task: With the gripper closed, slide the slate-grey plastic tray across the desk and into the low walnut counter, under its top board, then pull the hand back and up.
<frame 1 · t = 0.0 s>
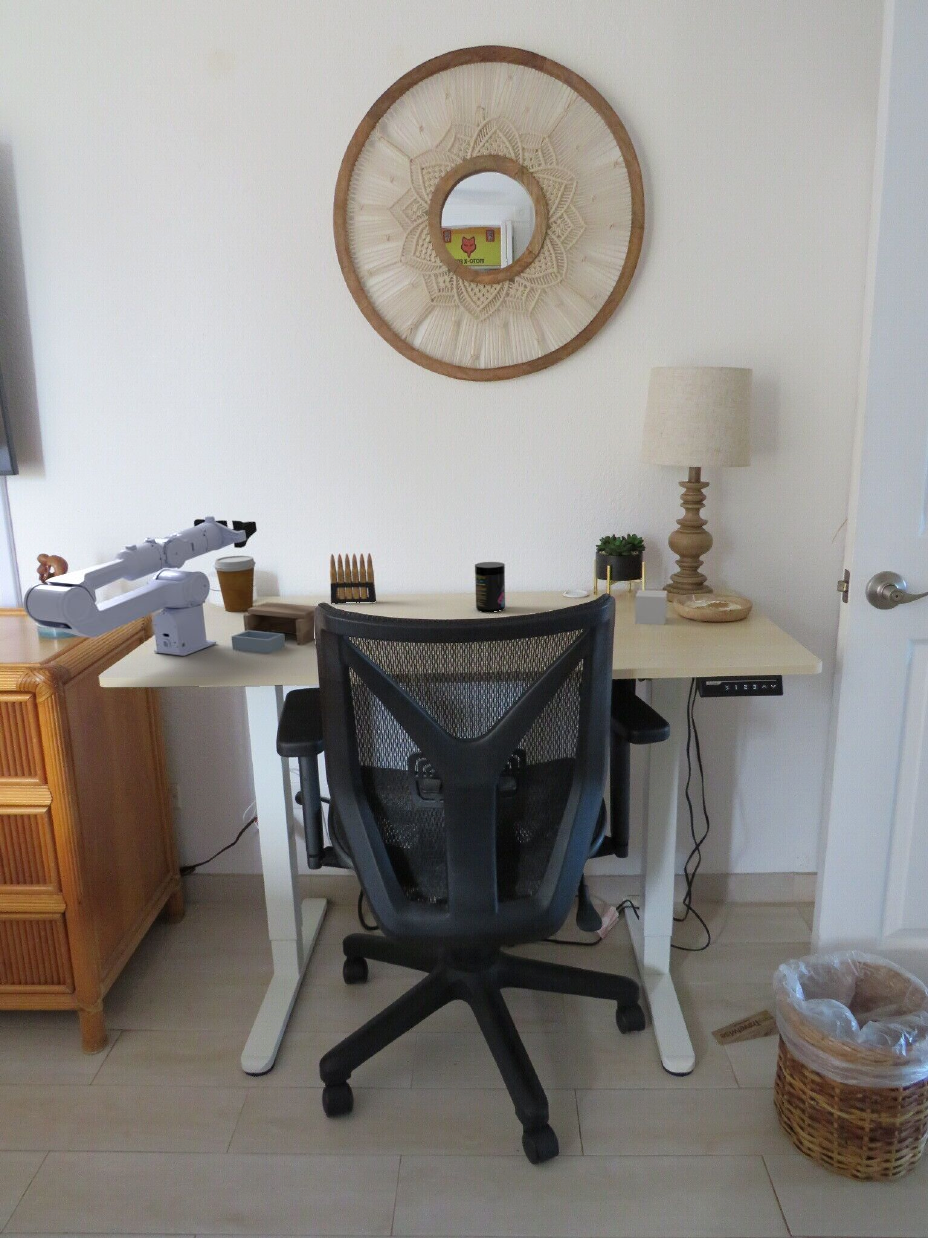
hand: (240, 525, 183), 22 cm above the table, tool horizontal, fingers open, 7 cm apart
disposable coffee cup: (239, 609, 203), on the table
ammunition clip: (353, 603, 206), on the table
supplement container: (490, 610, 195), on the table
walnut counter: (285, 637, 177), on the table
grey cube: (650, 621, 182), on the table
grey tray: (259, 649, 170), on the table
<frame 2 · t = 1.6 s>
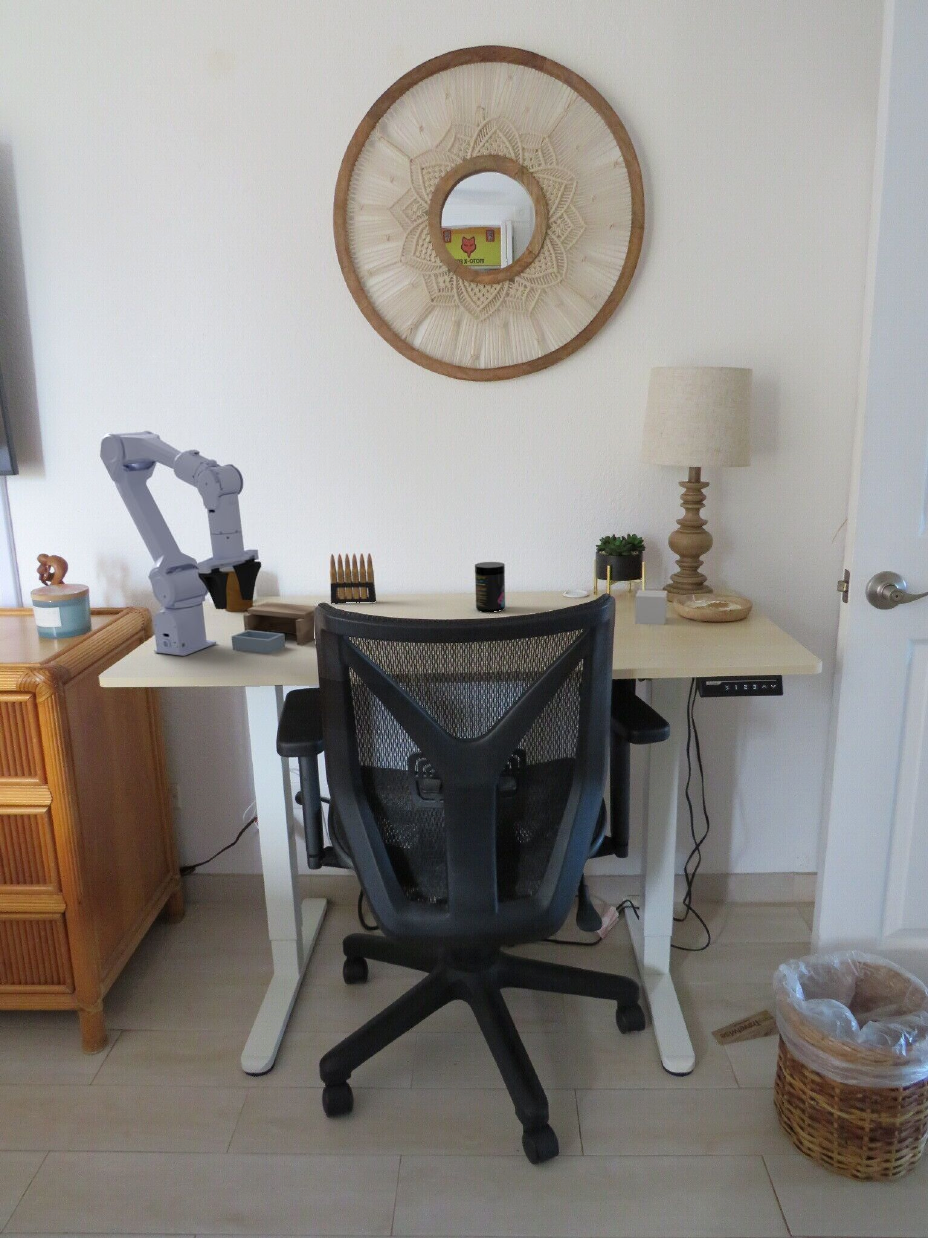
hand: (234, 604, 161), 10 cm above the table, tool pointing down, fingers open, 7 cm apart
nothing on the table moved.
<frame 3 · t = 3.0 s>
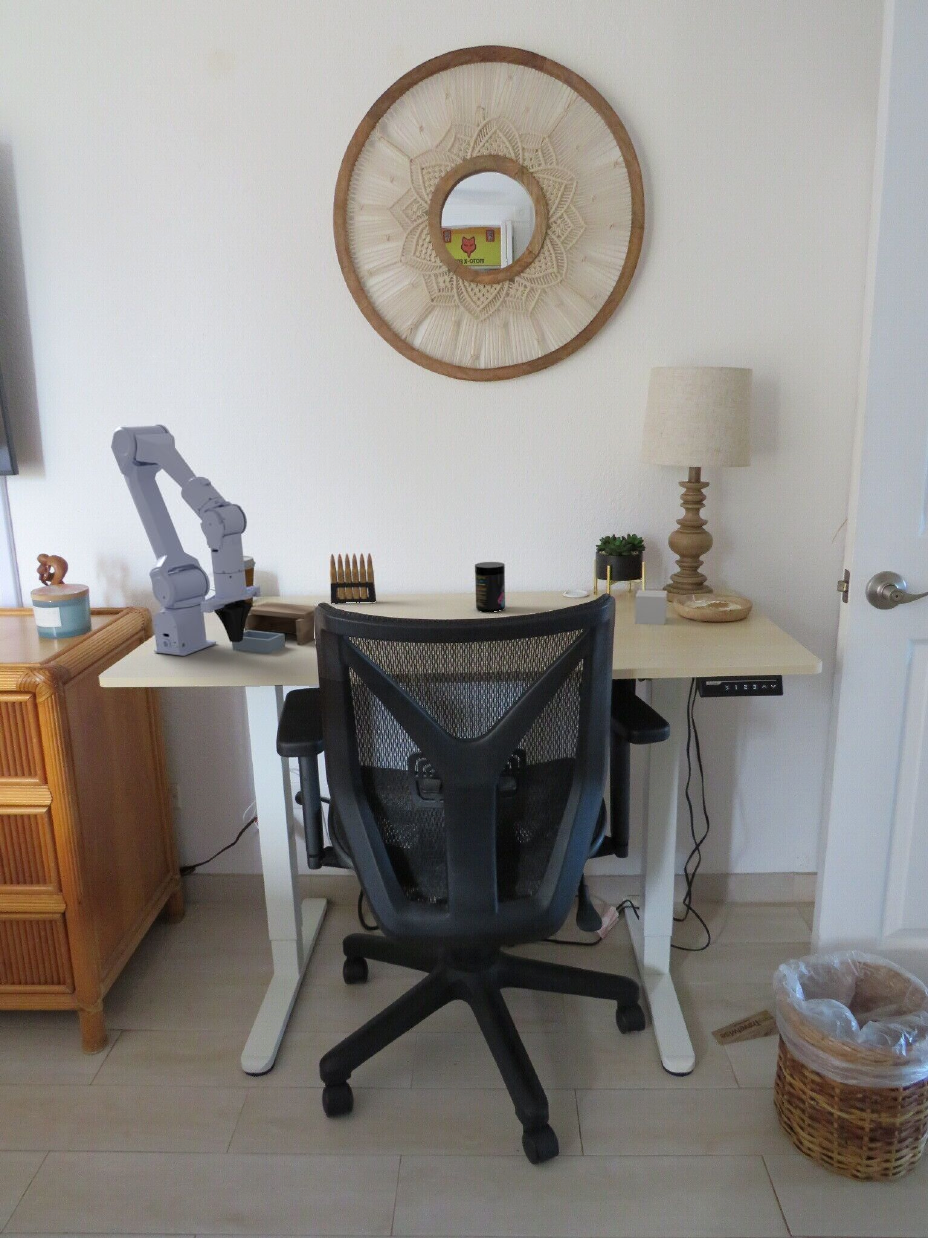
hand: (236, 641, 163), 3 cm above the table, tool pointing down, fingers closed
nothing on the table moved.
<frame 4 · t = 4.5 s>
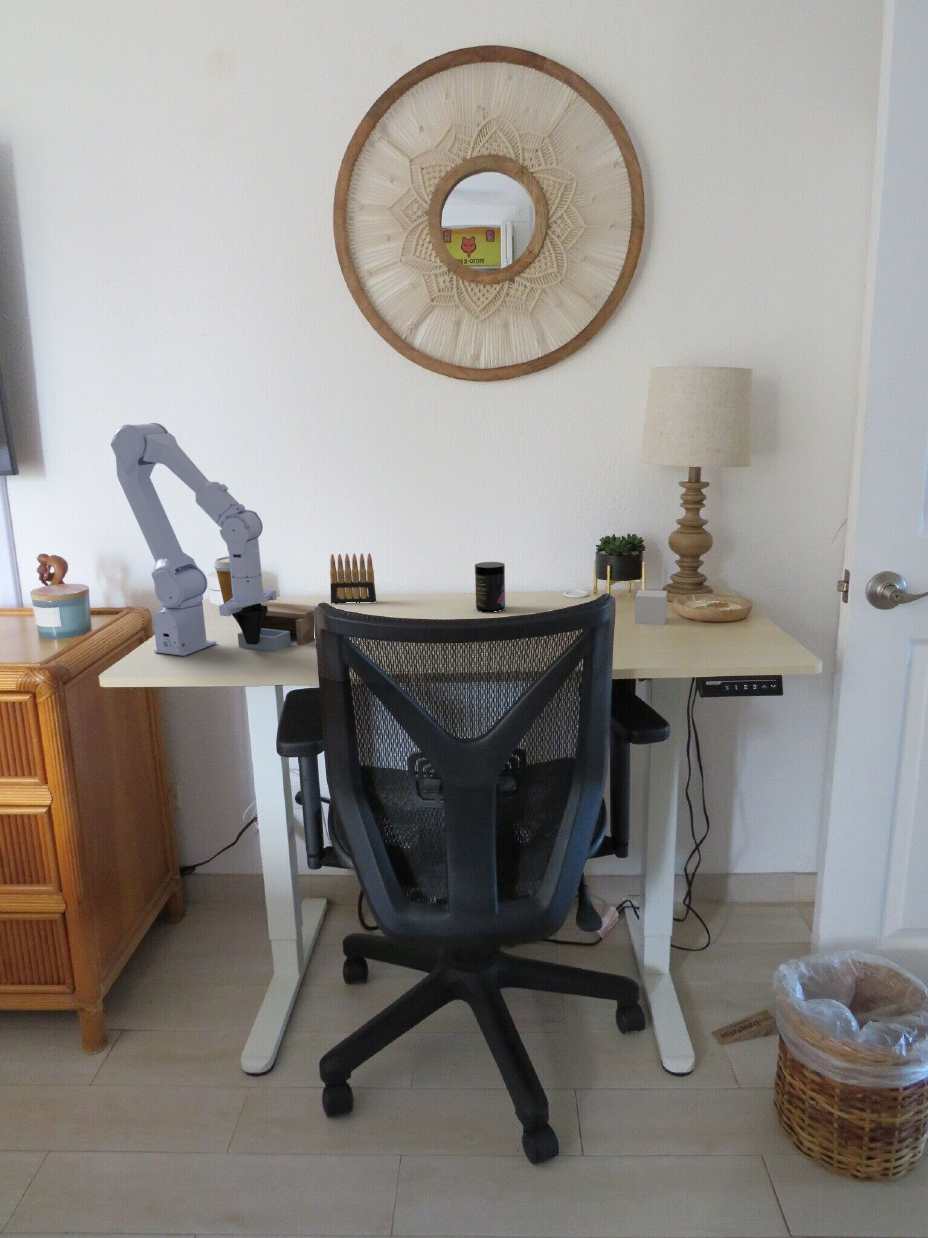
hand: (252, 643, 168), 1 cm above the table, tool pointing down, fingers closed
grey tray: (265, 647, 172), on the table
everything else where it was.
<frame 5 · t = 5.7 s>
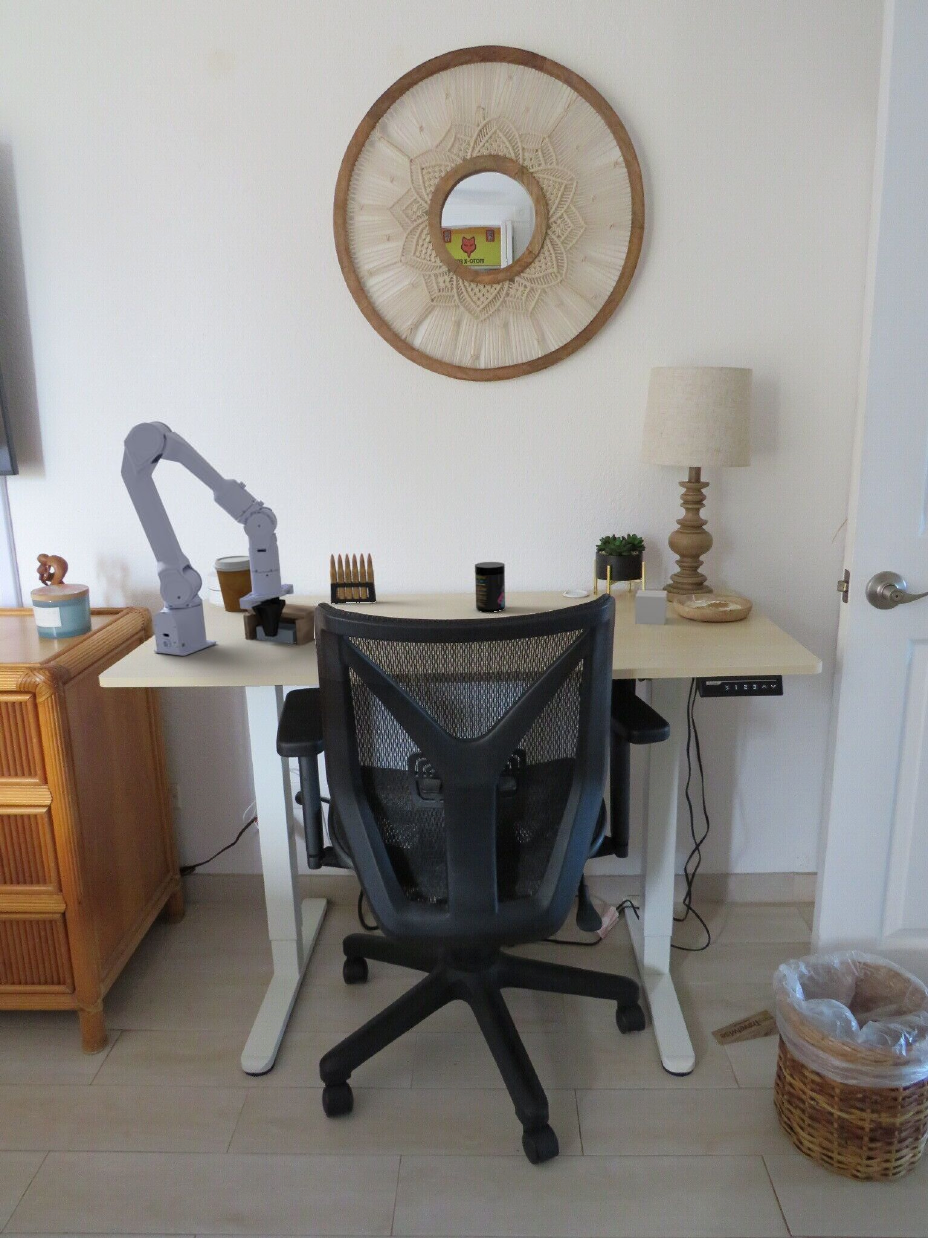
hand: (271, 635, 173), 1 cm above the table, tool pointing down, fingers closed
grey tray: (282, 640, 177), on the table
everything else where it was.
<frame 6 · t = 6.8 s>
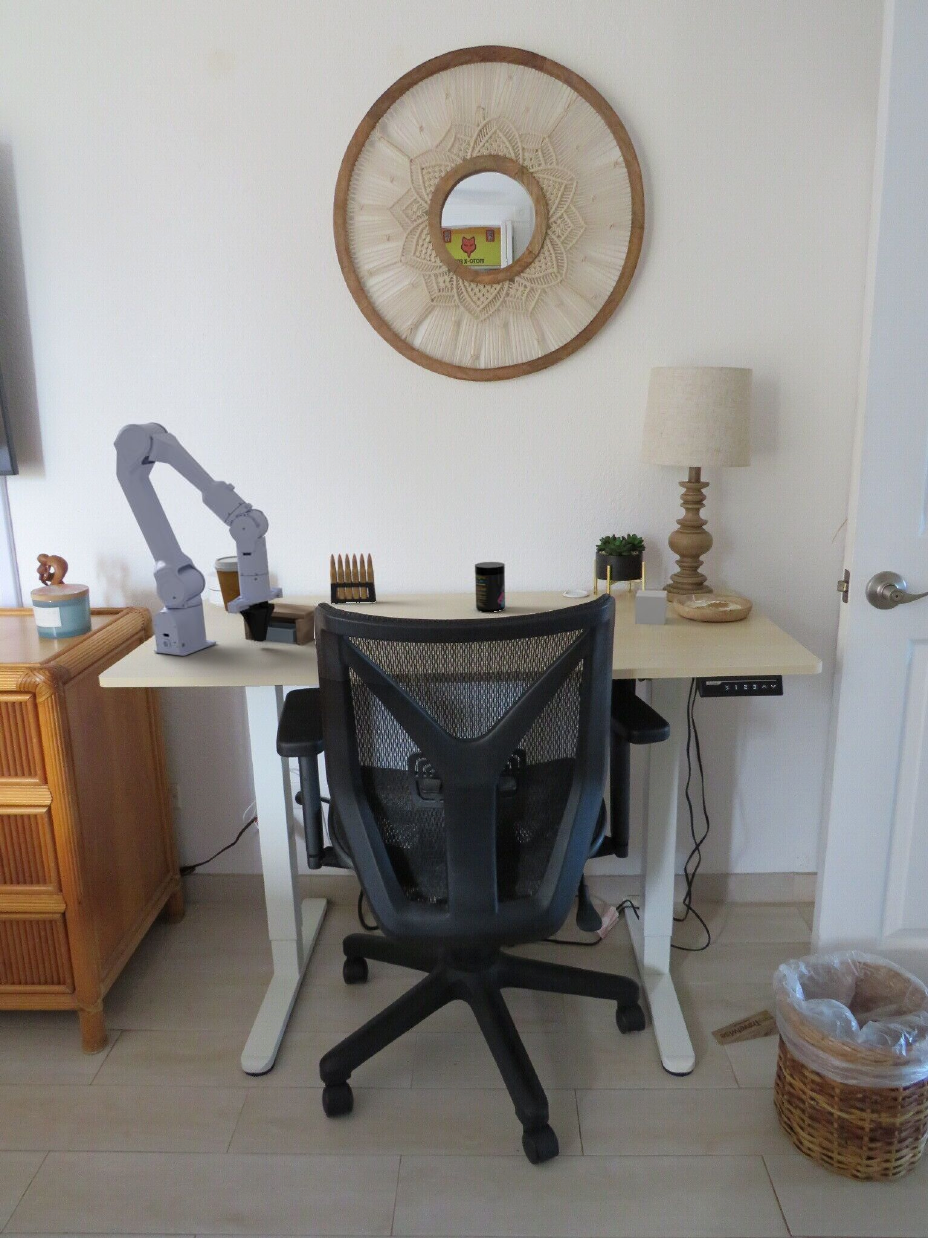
hand: (259, 640, 170), 1 cm above the table, tool pointing down, fingers closed
nothing on the table moved.
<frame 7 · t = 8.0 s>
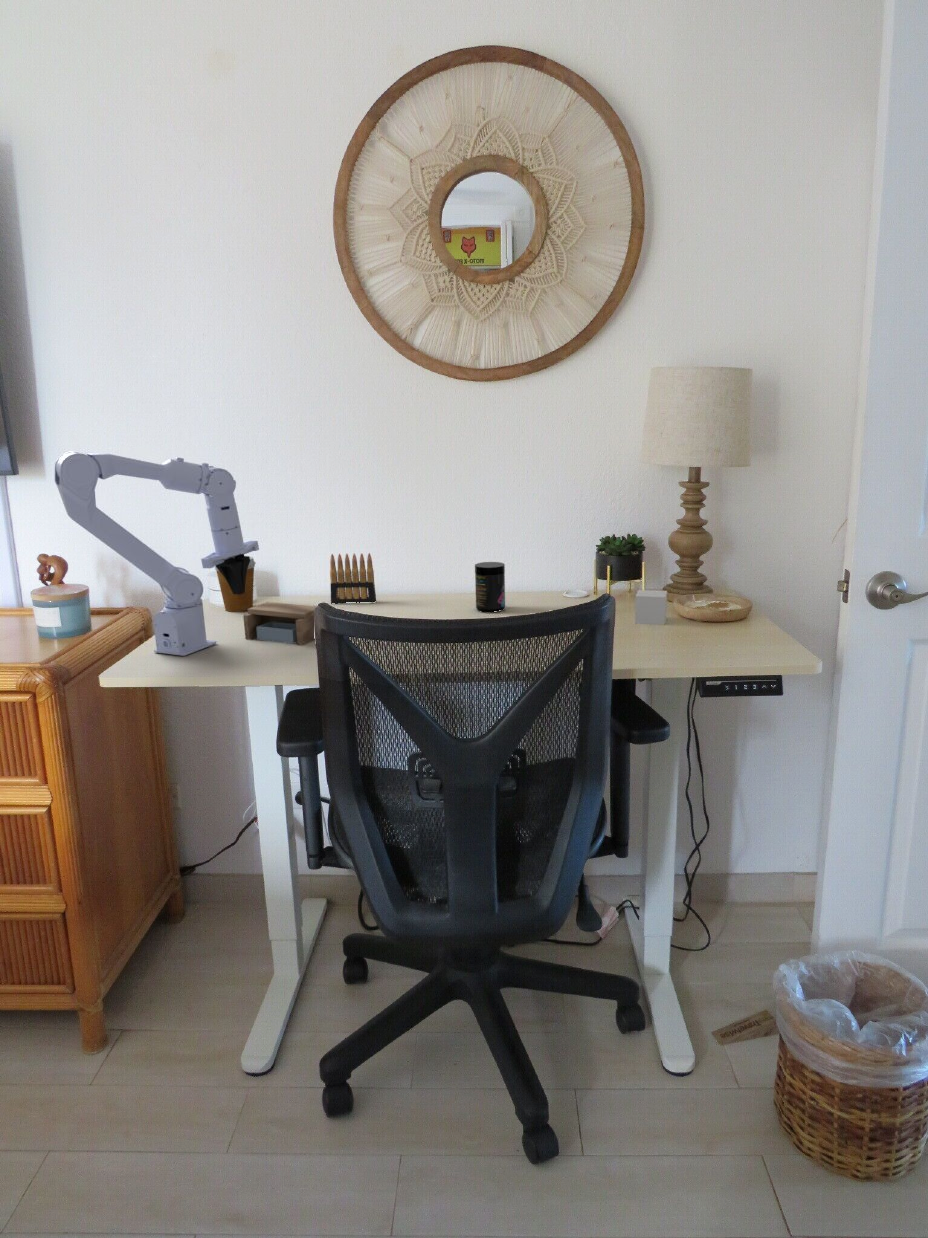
hand: (239, 593, 175), 9 cm above the table, tool pointing down, fingers closed
nothing on the table moved.
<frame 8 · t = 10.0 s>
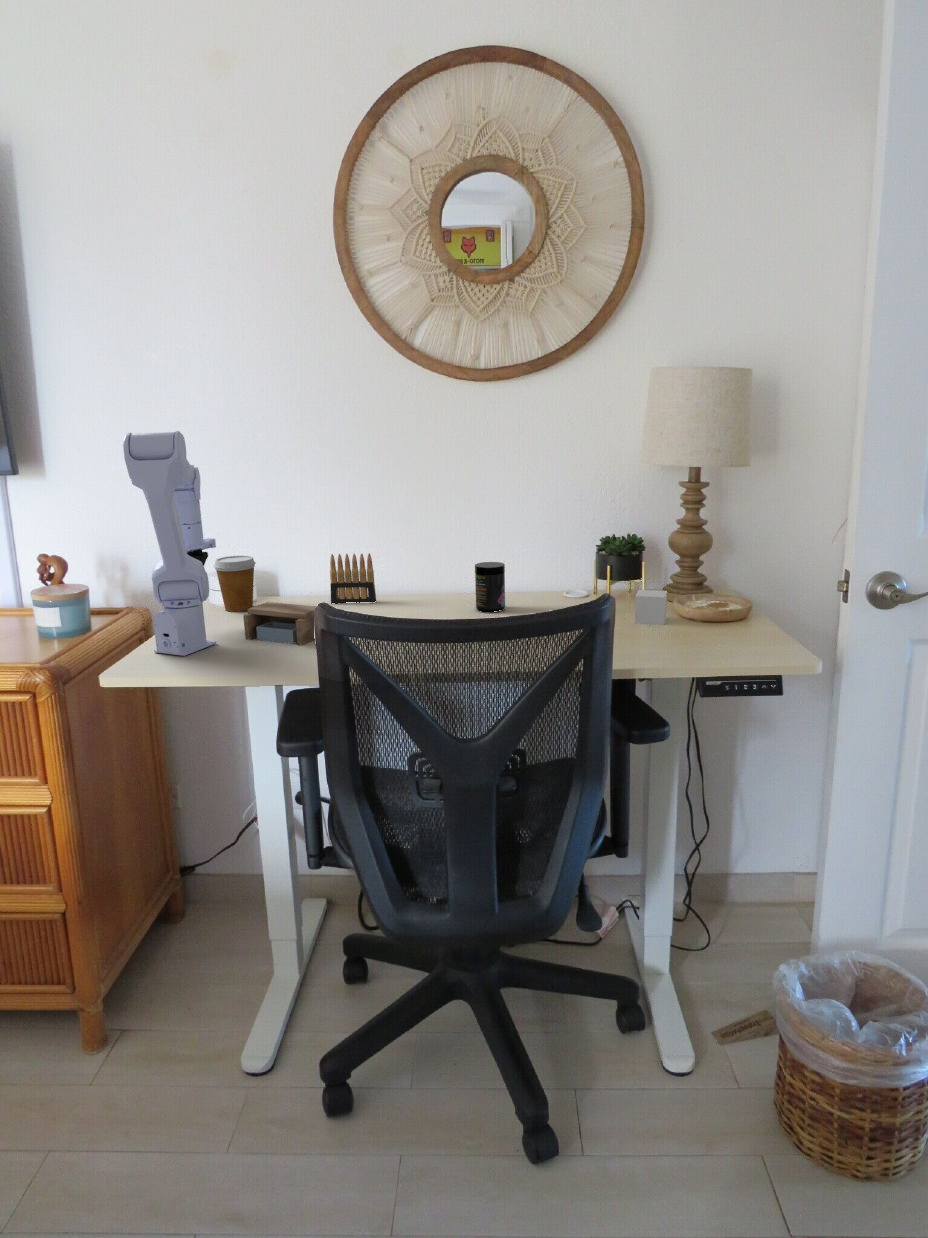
hand: (194, 586, 183), 9 cm above the table, tool pointing down, fingers closed
nothing on the table moved.
at the end: grey tray 1.4 cm off-centre on the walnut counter, point 0.0 cm above the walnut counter's base; grey tray tilted 0° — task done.
